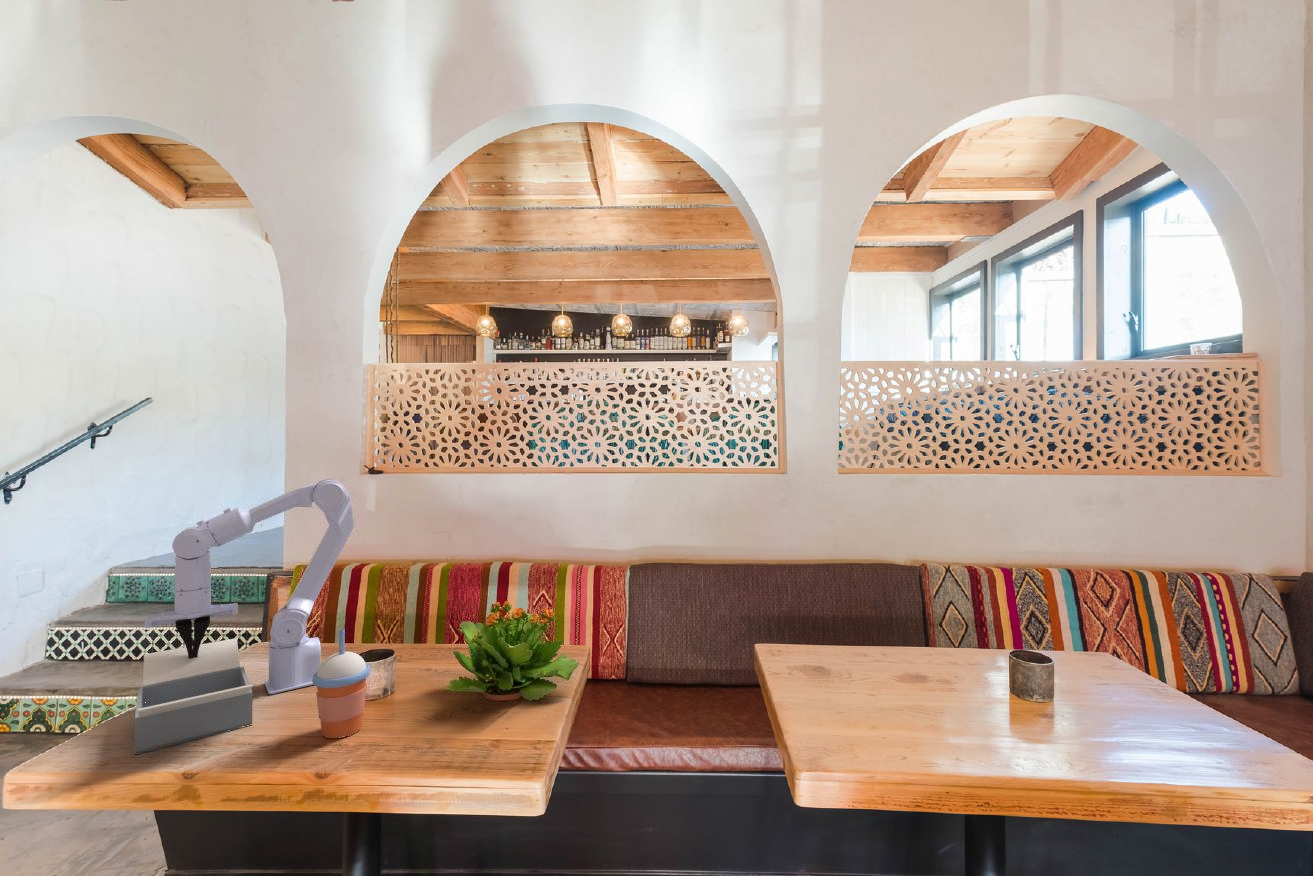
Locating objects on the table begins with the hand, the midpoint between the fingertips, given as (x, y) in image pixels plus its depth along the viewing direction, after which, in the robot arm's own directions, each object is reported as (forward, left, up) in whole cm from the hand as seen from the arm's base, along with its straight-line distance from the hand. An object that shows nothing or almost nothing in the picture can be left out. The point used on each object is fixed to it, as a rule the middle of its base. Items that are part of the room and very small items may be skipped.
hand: (192, 656), depth 117 cm
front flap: (0, +23, -1) cm, 23 cm away
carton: (0, +12, -9) cm, 15 cm away
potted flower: (-49, +36, -9) cm, 61 cm away
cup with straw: (-20, +32, -9) cm, 39 cm away
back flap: (0, 0, -1) cm, 1 cm away
